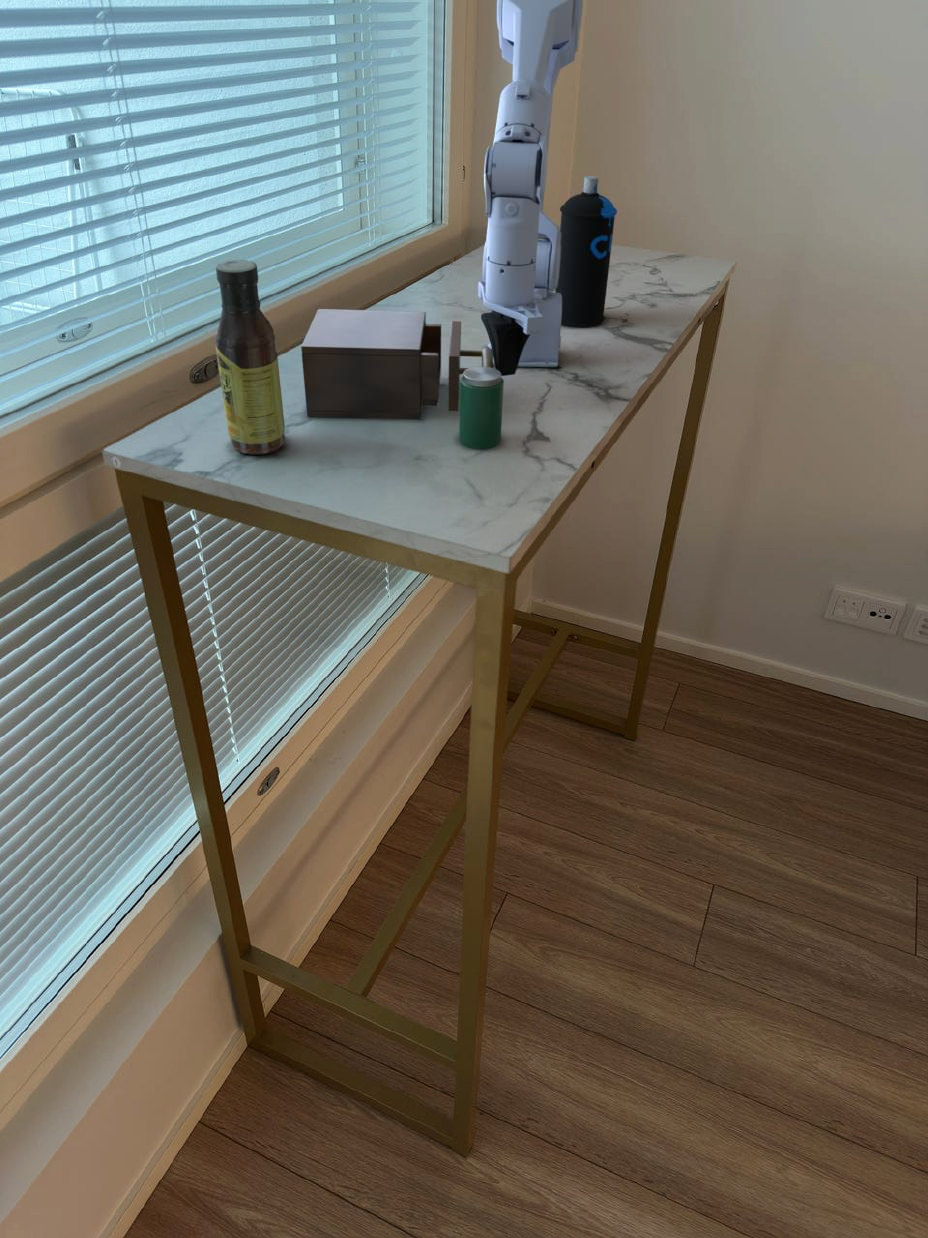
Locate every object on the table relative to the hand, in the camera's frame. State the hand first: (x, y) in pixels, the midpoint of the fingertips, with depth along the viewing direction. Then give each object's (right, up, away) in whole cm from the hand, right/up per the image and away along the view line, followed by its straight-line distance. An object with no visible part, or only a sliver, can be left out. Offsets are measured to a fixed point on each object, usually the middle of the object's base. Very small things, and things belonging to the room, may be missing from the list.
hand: (505, 373), depth 112 cm
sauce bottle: (-28, -11, -10) cm, 32 cm away
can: (-3, -10, -8) cm, 13 cm away
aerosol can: (+12, +16, +28) cm, 34 cm away
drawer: (-10, -2, +2) cm, 10 cm away
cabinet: (-17, -2, +2) cm, 17 cm away
